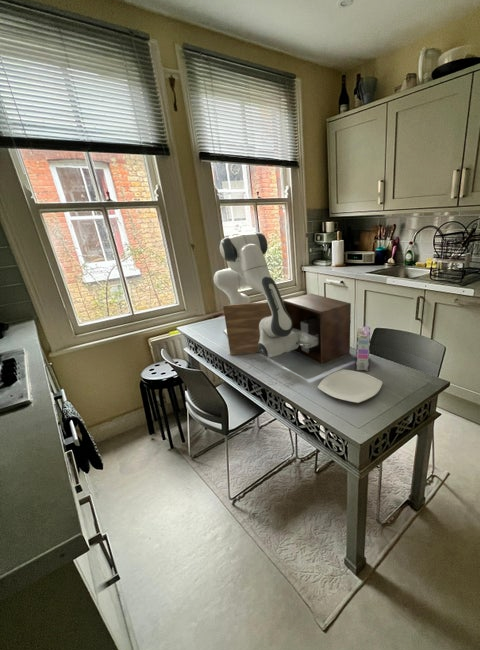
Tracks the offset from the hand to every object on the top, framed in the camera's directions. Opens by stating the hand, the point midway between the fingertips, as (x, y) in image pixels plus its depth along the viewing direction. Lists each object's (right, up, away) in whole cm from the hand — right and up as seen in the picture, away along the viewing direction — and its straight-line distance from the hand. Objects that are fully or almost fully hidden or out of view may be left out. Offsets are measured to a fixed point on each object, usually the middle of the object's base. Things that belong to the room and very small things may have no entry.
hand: (313, 333), depth 155 cm
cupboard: (+2, -9, +5) cm, 11 cm away
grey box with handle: (0, -8, +3) cm, 8 cm away
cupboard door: (-29, -8, +11) cm, 32 cm away
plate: (+14, -24, -28) cm, 40 cm away
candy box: (+23, -15, -9) cm, 29 cm away
